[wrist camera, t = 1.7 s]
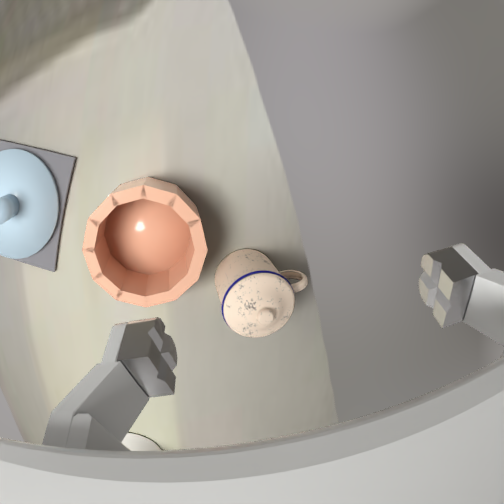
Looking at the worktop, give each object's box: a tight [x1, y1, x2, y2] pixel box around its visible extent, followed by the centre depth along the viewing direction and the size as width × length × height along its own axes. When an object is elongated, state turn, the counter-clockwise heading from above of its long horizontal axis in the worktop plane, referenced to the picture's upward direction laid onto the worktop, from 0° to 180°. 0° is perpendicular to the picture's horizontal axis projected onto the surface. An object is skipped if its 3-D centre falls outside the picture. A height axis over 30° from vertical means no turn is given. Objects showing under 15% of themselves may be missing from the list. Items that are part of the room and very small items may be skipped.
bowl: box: [82, 177, 208, 307], centre depth 37 cm, size 14×14×7 cm
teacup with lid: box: [215, 249, 308, 337], centre depth 41 cm, size 12×9×12 cm
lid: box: [0, 149, 59, 259], centre depth 31 cm, size 15×15×5 cm
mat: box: [0, 140, 76, 272], centre depth 34 cm, size 16×16×1 cm
